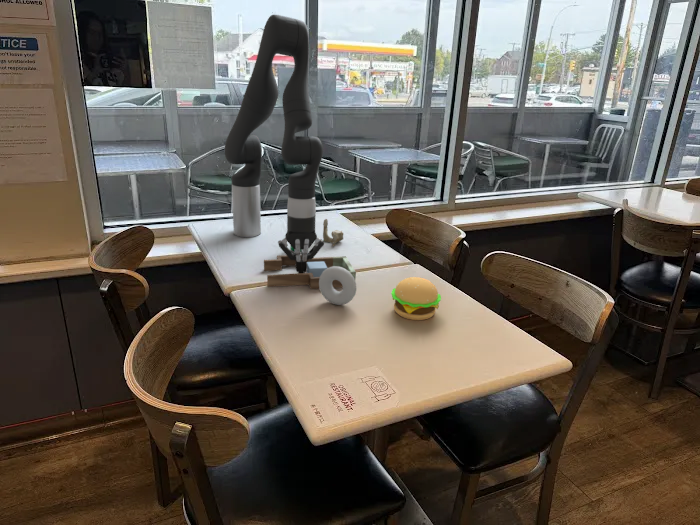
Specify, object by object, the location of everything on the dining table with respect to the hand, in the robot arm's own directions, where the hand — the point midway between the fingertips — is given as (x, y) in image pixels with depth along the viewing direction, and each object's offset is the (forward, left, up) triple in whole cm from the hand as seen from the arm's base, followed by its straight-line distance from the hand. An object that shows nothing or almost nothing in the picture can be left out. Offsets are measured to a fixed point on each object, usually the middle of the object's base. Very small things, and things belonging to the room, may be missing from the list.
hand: (300, 272), depth 138 cm
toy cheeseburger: (+25, +24, -1) cm, 35 cm away
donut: (+18, +6, -1) cm, 19 cm away
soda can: (-21, +2, -1) cm, 21 cm away
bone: (-27, +15, -1) cm, 31 cm away
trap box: (0, +2, -1) cm, 3 cm away
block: (0, +5, -1) cm, 5 cm away
